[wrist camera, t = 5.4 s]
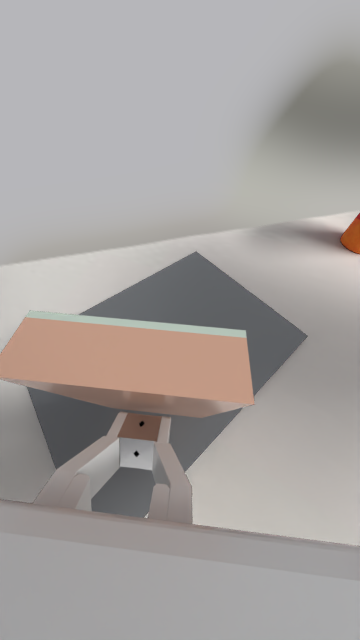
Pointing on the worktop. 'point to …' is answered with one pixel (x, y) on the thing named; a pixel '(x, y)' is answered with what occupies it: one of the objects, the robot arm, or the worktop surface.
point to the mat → (185, 432)
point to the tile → (131, 363)
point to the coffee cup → (352, 236)
